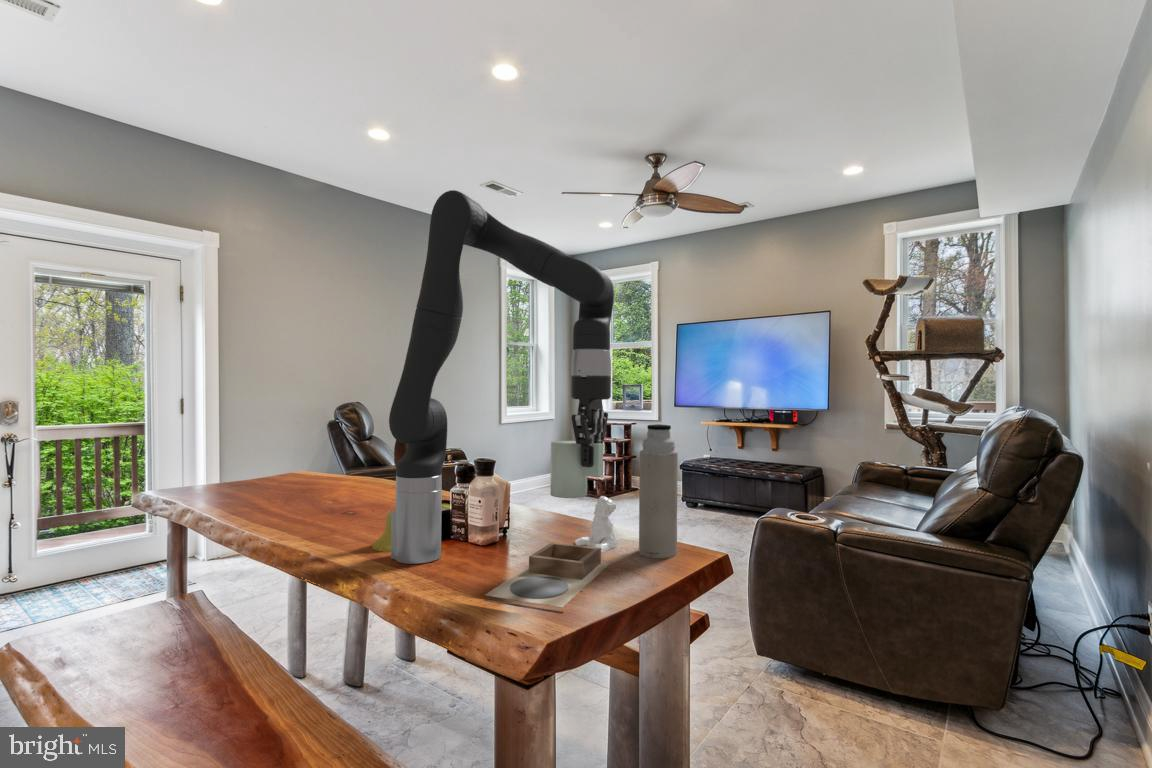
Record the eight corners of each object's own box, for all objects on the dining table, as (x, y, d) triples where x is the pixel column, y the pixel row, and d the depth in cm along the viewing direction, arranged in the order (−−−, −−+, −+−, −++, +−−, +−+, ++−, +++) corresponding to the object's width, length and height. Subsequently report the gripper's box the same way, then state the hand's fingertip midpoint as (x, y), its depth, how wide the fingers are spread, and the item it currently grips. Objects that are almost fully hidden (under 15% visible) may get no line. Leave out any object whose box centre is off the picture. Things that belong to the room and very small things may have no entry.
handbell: (367, 553, 121) (369, 436, 121) (376, 538, 133) (377, 431, 133) (427, 550, 123) (428, 435, 123) (430, 536, 135) (431, 431, 135)
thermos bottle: (631, 557, 119) (632, 424, 119) (651, 549, 125) (652, 423, 125) (664, 565, 114) (665, 426, 114) (683, 556, 120) (684, 424, 120)
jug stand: (484, 600, 94) (484, 576, 94) (544, 560, 116) (544, 541, 116) (561, 613, 89) (562, 588, 89) (609, 569, 111) (609, 548, 111)
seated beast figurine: (572, 547, 126) (572, 494, 126) (604, 543, 130) (605, 491, 131) (594, 559, 118) (594, 501, 118) (628, 553, 122) (628, 498, 122)
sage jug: (544, 496, 107) (544, 443, 107) (559, 490, 113) (559, 440, 113) (593, 500, 103) (594, 445, 103) (606, 494, 109) (607, 442, 109)
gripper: (586, 375, 115) (585, 460, 115) (557, 373, 102) (556, 469, 102) (621, 375, 112) (620, 462, 112) (596, 373, 99) (595, 471, 99)
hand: (590, 465), depth 107 cm, fingers closed on sage jug, 2 cm apart
